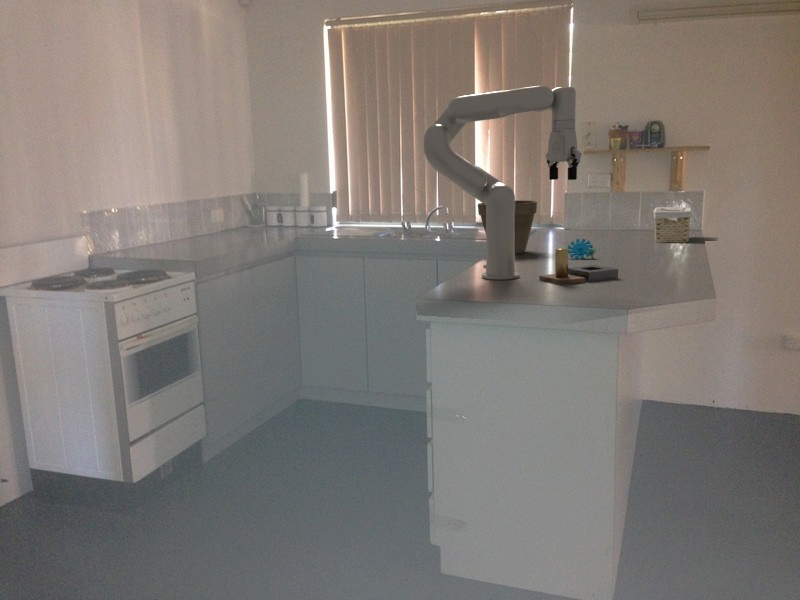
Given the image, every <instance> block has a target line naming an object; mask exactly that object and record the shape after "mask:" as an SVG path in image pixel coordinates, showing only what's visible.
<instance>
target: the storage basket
mask: <svg viewBox="0 0 800 600" xmlns="http://www.w3.org/2000/svg"><path fill="white" fill-rule="evenodd" d="M691 218H692V208H691V207H689V206H668V207H667V206H659V207H655V208H654V210H653V219H654V240H655V242H657V243H677V244H678V243H679V244H680V243H681V244H683V243H689V240H690V225H691V224H690V222H691Z"/></svg>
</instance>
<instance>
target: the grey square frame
mask: <svg viewBox="0 0 800 600" xmlns="http://www.w3.org/2000/svg"><path fill="white" fill-rule="evenodd" d="M568 275H573V276H578V277H583V278H585V282H596V281H597V282H598V281H604V280H605V281H606V280H612V279H614V278H615V279H619V269H618V268H613V267H609V266H602V265H596V264H591V265H580V266H573V267H572V266H571V267H568Z"/></svg>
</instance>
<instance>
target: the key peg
mask: <svg viewBox="0 0 800 600" xmlns="http://www.w3.org/2000/svg"><path fill="white" fill-rule="evenodd" d="M568 250H569V249H568V248H562V247H561V248H560V247H559V248H556V249H555V251H554V252H555V253H554V254H555V255H554V256H555V257H554V258H555V259H554V260H555V261H554V263H555V265H554V266H555V267H554V268H555V273H554V274H555V277H558V278H565V277H568V268H569V254H568Z"/></svg>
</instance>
